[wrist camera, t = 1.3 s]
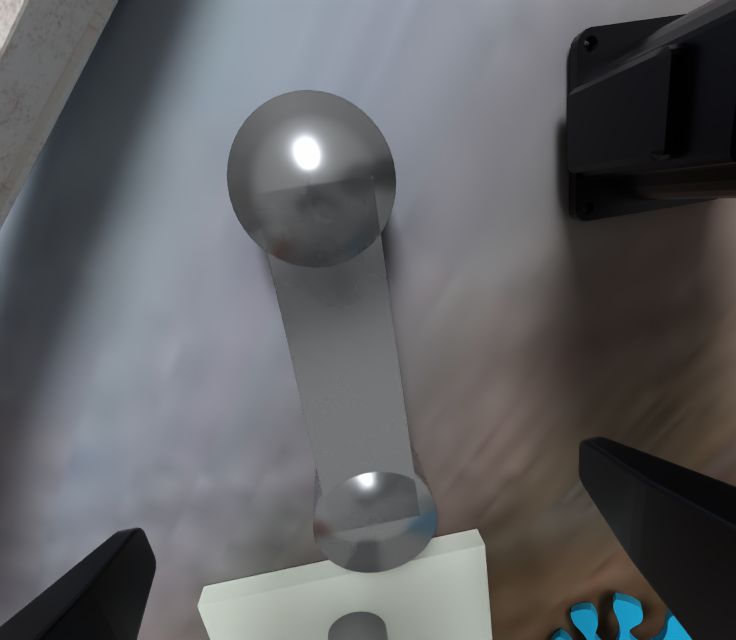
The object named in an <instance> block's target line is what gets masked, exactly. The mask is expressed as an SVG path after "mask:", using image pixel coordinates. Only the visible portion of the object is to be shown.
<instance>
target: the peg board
mask: <svg viewBox="0 0 736 640" xmlns="http://www.w3.org/2000/svg"><path fill="white" fill-rule="evenodd" d="M197 607H198V609H199V612H200V614H201V617H202V619H203V622H204V625H205V627H206V630H207V632H208V635H209V637H210V640H492V630H491V617H490V604H489V591H488V578H487V566H486V553H485V544H484V542H483V540H482V538H481V536H480V534H479V531H478V529H473V530H468V531H464V532H459V533H454V534H449V535H445V536H440V537H435V538H432V539H431V540H430V542H429V544H428V545H427V546H426V547H425V549H424V550H423V551H422V552H421V553H420V554H419V555H417V556H416V557H415V558H414V559H412V560H411V561H409V562H407V563H406V564H404V565H402V566H400V567H397V568H394V569H391V570H388V571H383V572H377V573H361V572H354V571H350V570H347V569H344V568H342V567H340V566H338V565H336V564H334V563H333V562H331V561H330V560H326V561H322V562H317V563H312V564H307V565H303V566H298V567H293V568H288V569H284V570H279V571H274V572H270V573H265V574H260V575H255V576H251V577H246V578H241V579H236V580H232V581H227V582H222V583H217V584H213V585H208V586H204V588H203V591H202V594H201V597H200V600H199V603H198V606H197Z"/></svg>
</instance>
